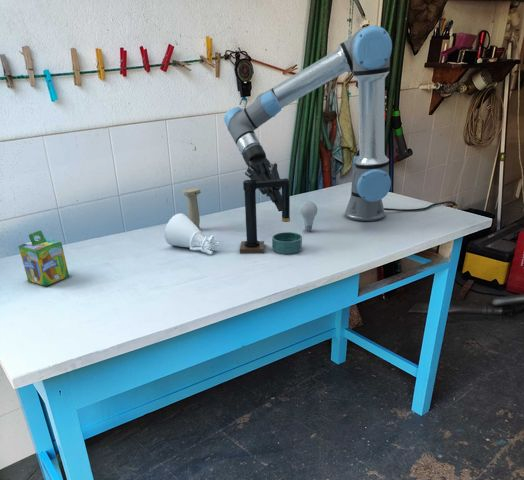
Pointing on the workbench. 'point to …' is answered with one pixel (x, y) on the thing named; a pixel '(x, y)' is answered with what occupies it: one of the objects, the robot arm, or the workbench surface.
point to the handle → (193, 205)
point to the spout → (284, 183)
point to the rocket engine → (188, 235)
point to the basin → (287, 242)
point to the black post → (251, 226)
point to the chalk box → (43, 260)
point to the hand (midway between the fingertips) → (282, 209)
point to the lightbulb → (308, 214)
